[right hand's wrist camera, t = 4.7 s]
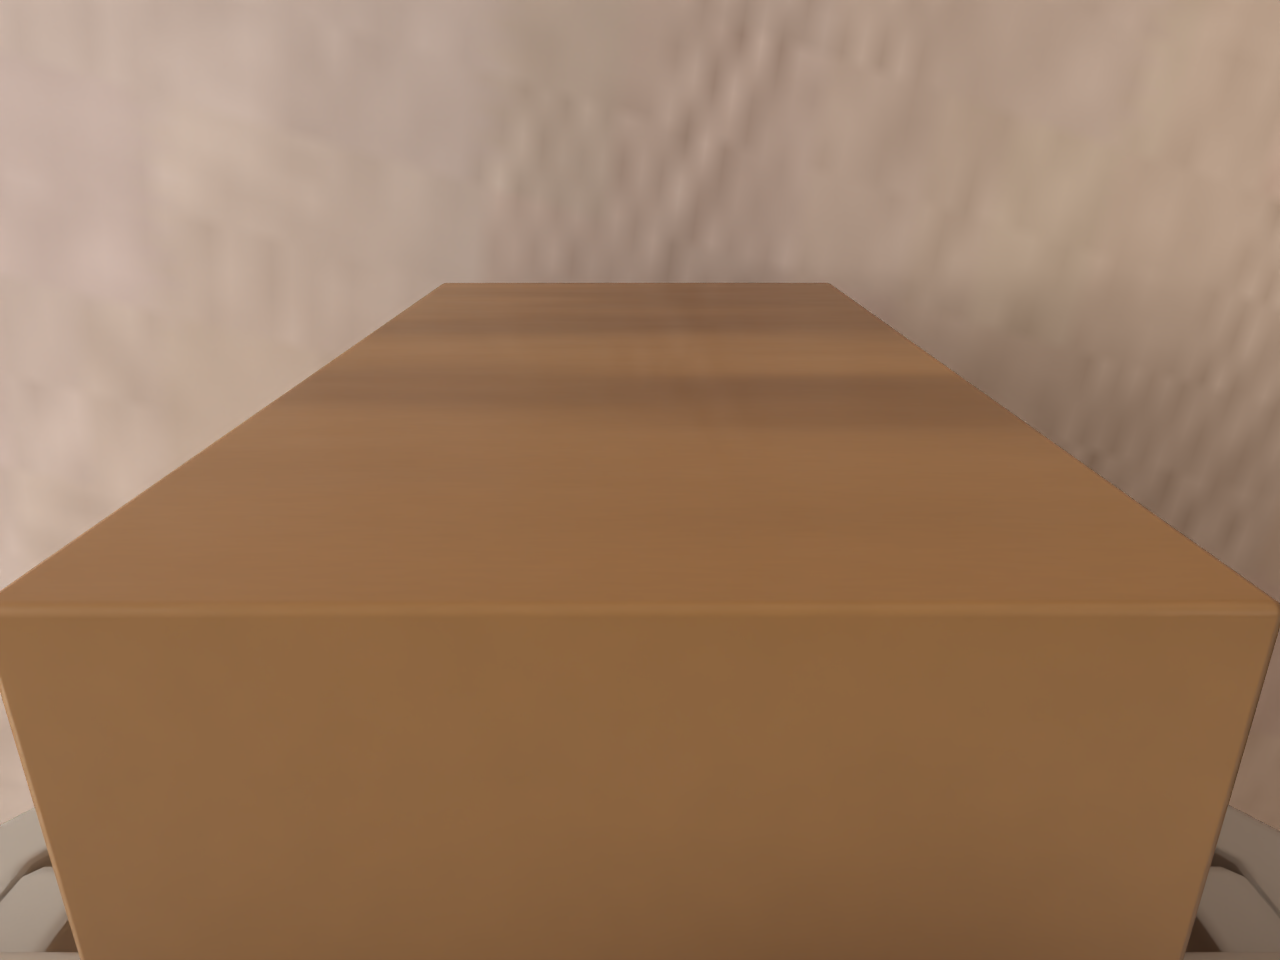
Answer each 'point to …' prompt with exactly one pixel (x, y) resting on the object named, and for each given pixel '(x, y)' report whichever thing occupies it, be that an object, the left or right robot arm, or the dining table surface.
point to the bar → (632, 659)
